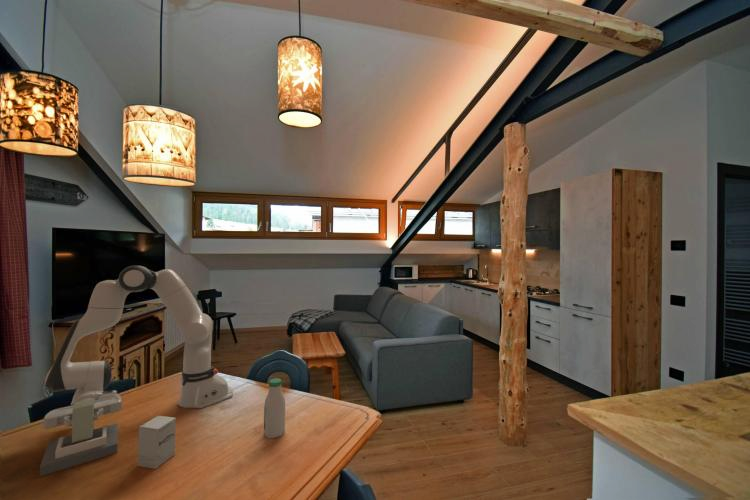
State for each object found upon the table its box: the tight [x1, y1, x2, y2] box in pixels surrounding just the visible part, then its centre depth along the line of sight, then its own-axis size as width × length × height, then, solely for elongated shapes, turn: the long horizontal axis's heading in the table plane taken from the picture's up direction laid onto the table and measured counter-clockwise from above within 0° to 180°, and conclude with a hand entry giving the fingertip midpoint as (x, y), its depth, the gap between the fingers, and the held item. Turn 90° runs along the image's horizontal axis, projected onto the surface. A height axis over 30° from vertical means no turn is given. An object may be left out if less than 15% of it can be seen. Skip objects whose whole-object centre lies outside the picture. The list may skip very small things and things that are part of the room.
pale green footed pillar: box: [71, 398, 95, 445], centre depth 105 cm, size 5×6×12 cm
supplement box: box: [137, 415, 177, 470], centre depth 101 cm, size 7×7×13 cm
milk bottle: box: [263, 377, 286, 439], centre depth 117 cm, size 8×8×20 cm
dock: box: [39, 423, 118, 477], centre depth 105 cm, size 18×16×6 cm
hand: (83, 420), depth 104 cm, fingers closed on pale green footed pillar, 5 cm apart
